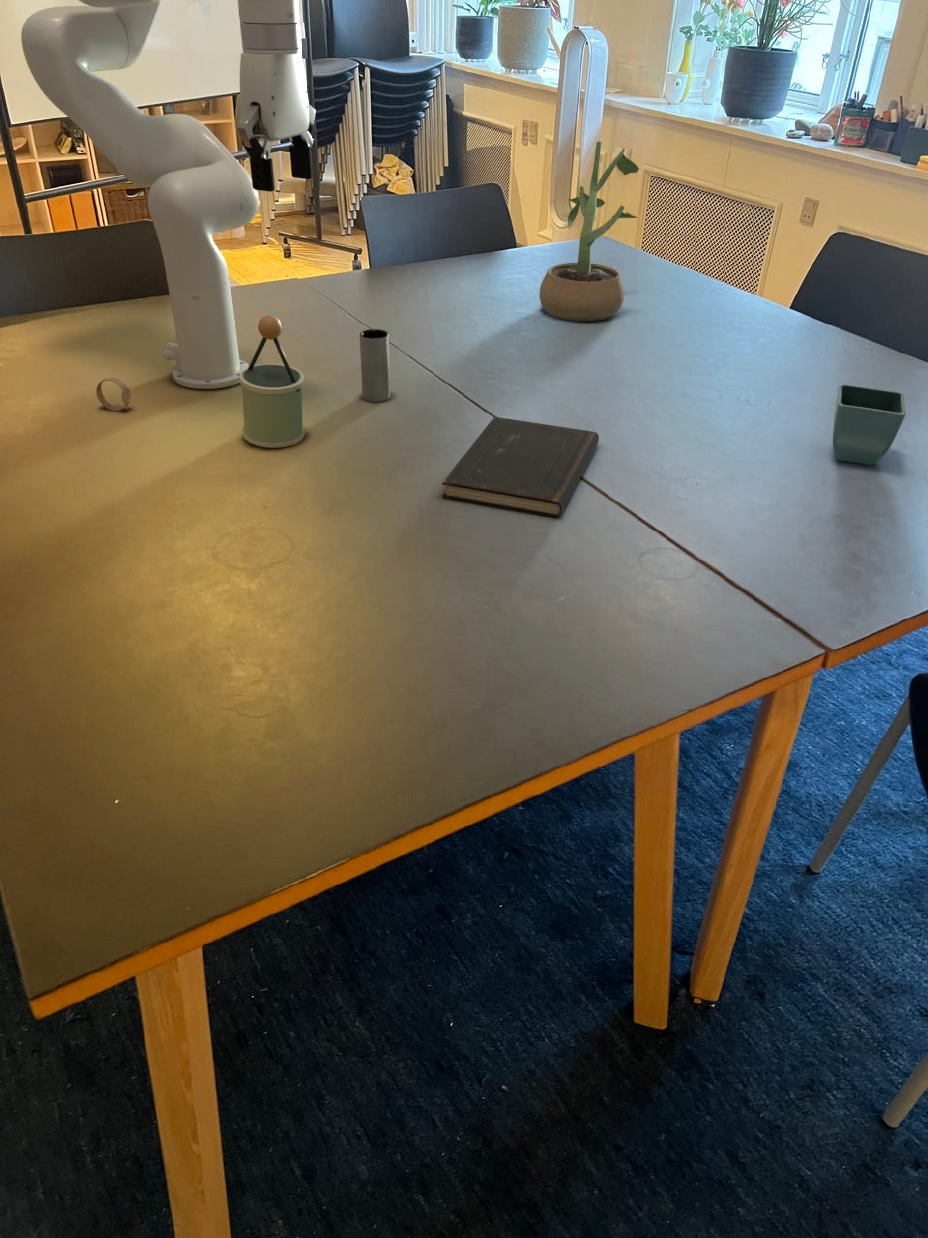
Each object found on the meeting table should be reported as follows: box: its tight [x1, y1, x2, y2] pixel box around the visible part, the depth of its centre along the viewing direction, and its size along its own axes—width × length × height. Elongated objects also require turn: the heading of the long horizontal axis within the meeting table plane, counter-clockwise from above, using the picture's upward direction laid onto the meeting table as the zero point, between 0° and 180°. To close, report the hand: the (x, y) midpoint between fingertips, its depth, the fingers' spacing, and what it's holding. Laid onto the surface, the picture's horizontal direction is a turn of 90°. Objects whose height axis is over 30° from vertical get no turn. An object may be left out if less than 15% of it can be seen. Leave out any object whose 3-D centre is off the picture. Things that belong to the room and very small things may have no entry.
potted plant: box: [539, 141, 640, 323], centre depth 185 cm, size 22×18×30 cm
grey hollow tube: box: [359, 328, 392, 403], centre depth 150 cm, size 4×4×10 cm
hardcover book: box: [441, 416, 600, 518], centre depth 131 cm, size 16×23×2 cm
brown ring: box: [95, 376, 132, 412], centre depth 146 cm, size 3×5×5 cm, turn 78°
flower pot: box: [832, 383, 907, 466], centre depth 135 cm, size 9×9×9 cm
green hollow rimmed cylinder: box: [239, 314, 306, 449], centre depth 134 cm, size 18×9×9 cm
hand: (283, 183), depth 131 cm, fingers open, 9 cm apart
